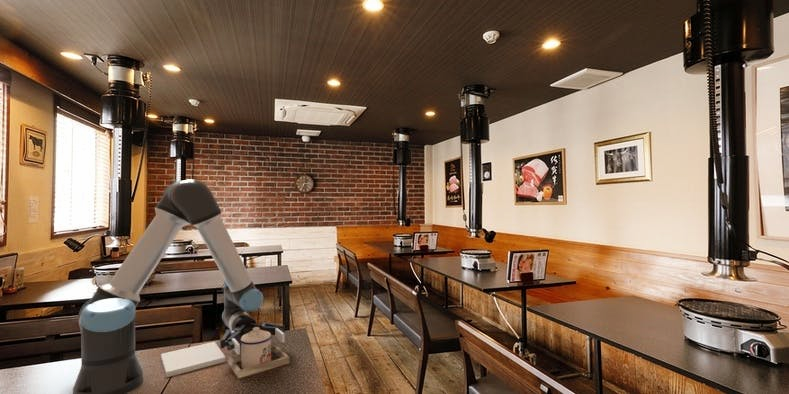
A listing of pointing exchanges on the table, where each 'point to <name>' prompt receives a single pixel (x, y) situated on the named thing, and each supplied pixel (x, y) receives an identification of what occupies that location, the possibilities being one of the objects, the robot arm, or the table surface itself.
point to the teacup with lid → (255, 348)
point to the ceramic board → (191, 358)
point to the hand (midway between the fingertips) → (261, 343)
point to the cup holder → (261, 367)
